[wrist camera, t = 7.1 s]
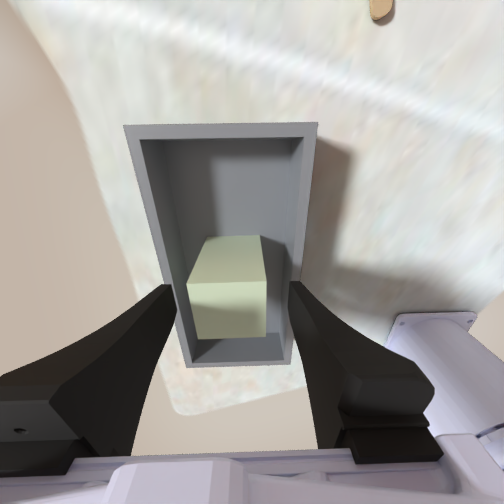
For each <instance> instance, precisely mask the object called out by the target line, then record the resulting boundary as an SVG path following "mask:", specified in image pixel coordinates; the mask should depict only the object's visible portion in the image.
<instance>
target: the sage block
mask: <svg viewBox="0 0 504 504" xmlns="http://www.w3.org/2000/svg"><path fill="white" fill-rule="evenodd" d="M266 284H267V281H266V274H265V268H264V261H263V254H262V248H261V241H260V235H248V236H216V237H207V238H206V240H205V243H204V245H203V247H202V250H201V252H200V254H199V256H198V259H197V261H196V263H195V265H194V268H193V270H192V272H191V274H190V277H189V279H188V281H187V283H186V285H187V290H188V294H189V299H190V304H191V309H192V313H193V318H194V323H195V327H196V332H197V337H198V339H223V338H249V337H266Z"/></svg>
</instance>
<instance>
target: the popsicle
mask: <svg viewBox="0 0 504 504" xmlns="http://www.w3.org/2000/svg"><path fill="white" fill-rule="evenodd" d="M392 1H393V0H370V14H371V18H372V19H373V20H378V19H380V18H382V17H384V16H385V15H386V14H387V13H388V12H389V11H390V9H391V7H392Z"/></svg>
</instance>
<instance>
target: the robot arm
mask: <svg viewBox="0 0 504 504" xmlns="http://www.w3.org/2000/svg"><path fill="white" fill-rule="evenodd" d="M287 308H288V313H289V319H290V324H291V327H292V330H293V333H294V337H295V340H296V343H297V346H298V350H299V353H300V356H301V360H302V364H303V368H304V373H305V378H306V383H307V388H308V393H309V398H310V404H311V409H312V415H313V421H314V427H315V433H316V439H317V444H318V449H316V450H288V451H262V452H261V451H259V452H235V453H234V452H233V453H205V454H177V455H150V456H149V455H148V456H131V452H132V448H133V443H134V439H135V435H136V431H137V427H138V424H139V420H140V416H141V413H142V409H143V405H144V402H145V398H146V395H147V392H148V388H149V385H150V382H151V379H152V376H153V373H154V370H155V367H156V364H157V362H158V359H159V357H160V355H161V353H162V350H163V348H164V346H165V343H166V341H167V339H168V336H169V334H170V332H171V329H172V327H173V324H174V321H175V317H176V314H177V306H176V302H175V298H174V293H173V289H172V285H171V284H161V285H160V286H158V287H157V288H156V289H154V290H153V291H152V292H150V293H149V294H148V295H147V296H145V297H144V298H143V299H142V300H140V301H139V302H138V303H136V304H135V305H134V306H133V307H131V308H130V309H128V310H127V311H125V312H124V313H123V314H121V315H120V316H119V317H117V318H116V319H114V320H113V321H111V322H110V323H108V324H106V325H105V326H103V327H102V328H100V329H98V330H97V331H95V332H93V333H91V334H90V335H88V336H86V337H84V338H82V339H81V340H79V341H77V342H75V343H73V344H71V345H69V346H67V347H65V348H63V349H61V350H59V351H57V352H55V353H53V354H50V355H48V356H46V357H44V358H42V359H39V360H37V361H35V362H32V363H30V364H27V365H25V366H23V367H20V368H18V369H15V370H13V371H11V372H8V373H6V374H3V375H2V376H1V377H0V504H504V362H503V361H502V360H500V359H499V358H498V357H497V356H496V355H494V354H493V353H492V352H491V351H489V350H488V349H487V348H486V347H485V346H484V345H482V344H481V343H480V342H479V341H478V340H476V339H475V338H474V337H473V336H472V335H470V334H469V333H468V330H469V329H470V327H471V326H472V324H473V323H474V321H475V320H476V318H477V314H475V313H474V312H447V313H412V314H400V315H398V316H397V318H396V320H395V322H394V325H393V327H392V329H391V332H390V334H389V337H388V339H387V341H386V344H385V346H384V347H383V346H381V345H380V344H378V343H376V342H374V341H372V340H371V339H369V338H367V337H366V336H364V335H362V334H361V333H359V332H358V331H356V330H355V329H353V328H352V327H350V326H349V325H347V324H346V323H345V322H343V321H342V320H340V319H339V318H338V317H337V316H335V315H334V314H333V313H332V312H330V311H329V310H328V309H327V308H326V307H325V306H324V305H323V304H322V303H320V302H319V301H318V300H317V299H316V298H315V297H314V296H313V295H312V294H311V293H310V291H309V290H308V289H307V288H306V287H305V286H304V285H303V284H302V283H301V282H300V281H290V282H289V294H288V306H287Z"/></svg>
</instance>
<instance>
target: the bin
mask: <svg viewBox="0 0 504 504" xmlns="http://www.w3.org/2000/svg"><path fill="white" fill-rule="evenodd" d="M123 128H124V131H125V135H126V139H127V143H128V147H129V150H130V154H131V158H132V162H133V166H134V170H135V173H136V177H137V181H138V185H139V189H140V193H141V196H142V200H143V204H144V208H145V212H146V215H147V219H148V223H149V227H150V231H151V235H152V238H153V242H154V246H155V250H156V254H157V257H158V261H159V265H160V269H161V273H162V277H163V280H164V284H171V285H172V289H173V293H174V298H175V302H176V306H177V314H176V317H175V321H174V322H175V326H176V330H177V334H178V338H179V342H180V345H181V349H182V353H183V357H184V361H185V364H186V368H199V367H229V366H260V365H290V364H291V355H292V346H293V337H294V333H293V330H292V327H291V324H290V319H289V313H288V308H287V306H288V294H289V282H290V281H300V276H301V268H302V259H303V250H304V241H305V233H306V224H307V215H308V207H309V198H310V189H311V180H312V172H313V163H314V154H315V145H316V137H317V128H318V122H290V123H222V124H154V125H123ZM248 235H260V241H261V248H262V254H263V261H264V268H265V274H266V281H267V284H266V337H249V338H223V339H198V337H197V332H196V327H195V323H194V318H193V313H192V309H191V304H190V299H189V294H188V290H187V285H186V283H187V281H188V279H189V277H190V274H191V272H192V270H193V268H194V265H195V263H196V261H197V259H198V256H199V254H200V252H201V250H202V247H203V245H204V243H205V240H206V238H207V237H216V236H248Z"/></svg>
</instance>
